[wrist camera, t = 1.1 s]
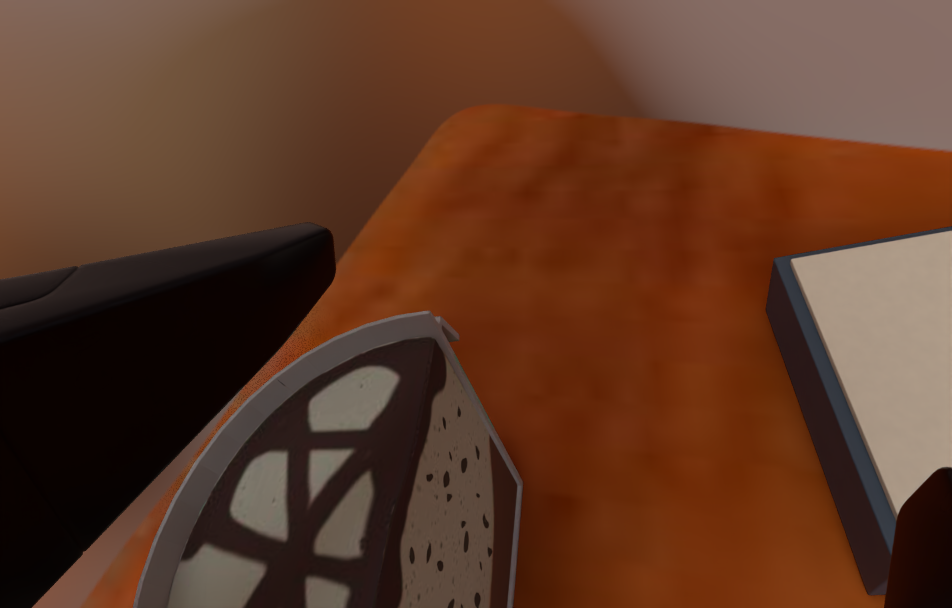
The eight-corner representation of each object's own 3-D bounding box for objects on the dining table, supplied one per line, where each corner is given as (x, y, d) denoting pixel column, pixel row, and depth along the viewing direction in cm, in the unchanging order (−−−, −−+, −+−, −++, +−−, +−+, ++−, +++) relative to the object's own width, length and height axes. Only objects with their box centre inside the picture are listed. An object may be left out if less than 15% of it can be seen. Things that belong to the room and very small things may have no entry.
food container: (382, 441, 24) (233, 308, 16) (526, 443, 22) (433, 292, 14) (293, 836, 17) (-35, 926, 10) (490, 889, 15) (276, 1056, 8)
